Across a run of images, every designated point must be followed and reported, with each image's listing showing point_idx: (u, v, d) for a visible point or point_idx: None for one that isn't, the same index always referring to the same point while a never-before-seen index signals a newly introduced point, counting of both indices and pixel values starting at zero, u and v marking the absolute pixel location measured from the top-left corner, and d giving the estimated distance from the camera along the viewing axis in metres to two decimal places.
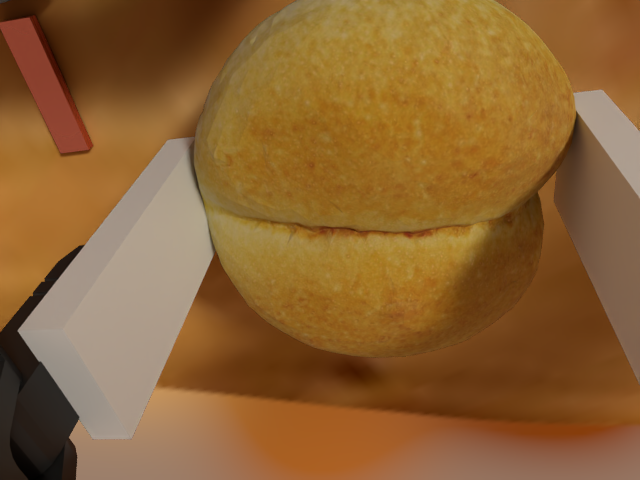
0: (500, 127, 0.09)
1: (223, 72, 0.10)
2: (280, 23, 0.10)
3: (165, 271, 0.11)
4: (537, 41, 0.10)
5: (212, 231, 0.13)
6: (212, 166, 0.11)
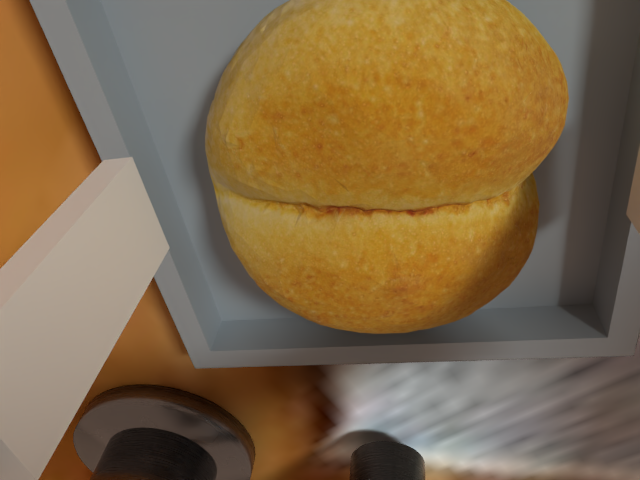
0: (498, 108, 0.10)
1: (234, 60, 0.11)
2: (289, 12, 0.10)
3: (87, 300, 0.10)
4: (531, 28, 0.10)
5: (222, 214, 0.13)
6: (224, 149, 0.11)
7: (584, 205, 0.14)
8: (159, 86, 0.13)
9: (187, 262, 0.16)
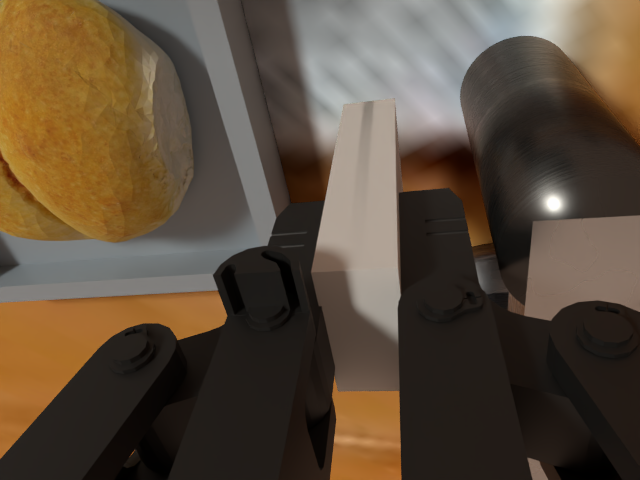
0: None
1: None
2: None
3: None
4: None
5: None
6: (27, 237, 0.17)
7: None
8: (71, 246, 0.21)
9: (191, 263, 0.20)
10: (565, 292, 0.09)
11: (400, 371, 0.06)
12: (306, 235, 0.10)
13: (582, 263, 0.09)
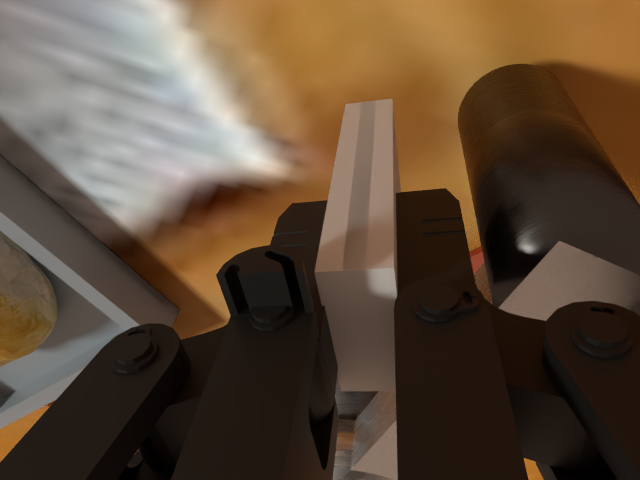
0: None
1: None
2: None
3: None
4: None
5: None
6: None
7: None
8: (33, 366, 0.26)
9: None
10: (535, 314, 0.10)
11: (396, 371, 0.06)
12: (308, 235, 0.10)
13: (567, 295, 0.09)
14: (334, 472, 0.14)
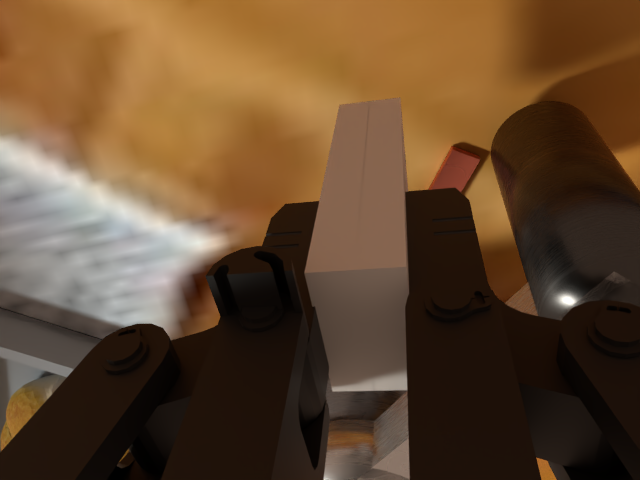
0: None
1: None
2: None
3: None
4: None
5: None
6: None
7: None
8: None
9: None
10: None
11: (408, 370, 0.06)
12: (301, 235, 0.10)
13: None
14: (355, 469, 0.15)
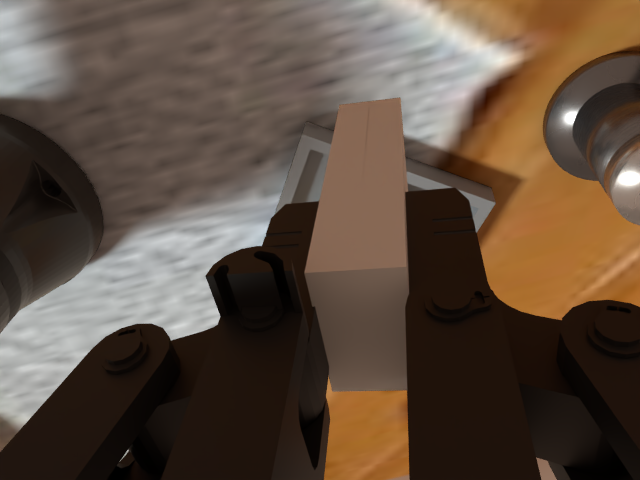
0: None
1: None
2: None
3: None
4: None
5: None
6: None
7: (305, 186, 0.37)
8: None
9: None
10: None
11: (408, 370, 0.06)
12: (301, 235, 0.10)
13: None
14: None
